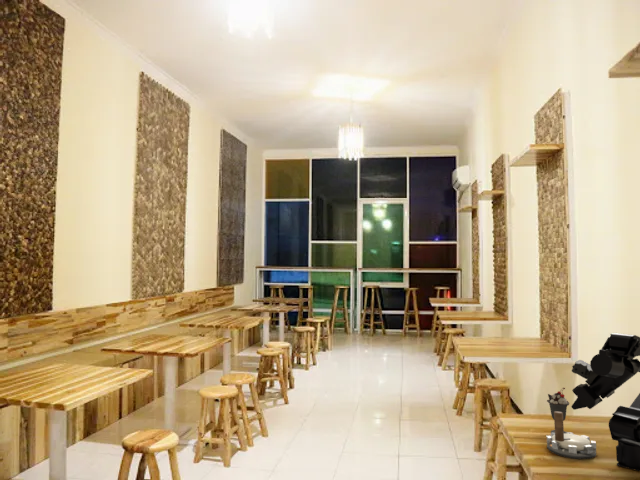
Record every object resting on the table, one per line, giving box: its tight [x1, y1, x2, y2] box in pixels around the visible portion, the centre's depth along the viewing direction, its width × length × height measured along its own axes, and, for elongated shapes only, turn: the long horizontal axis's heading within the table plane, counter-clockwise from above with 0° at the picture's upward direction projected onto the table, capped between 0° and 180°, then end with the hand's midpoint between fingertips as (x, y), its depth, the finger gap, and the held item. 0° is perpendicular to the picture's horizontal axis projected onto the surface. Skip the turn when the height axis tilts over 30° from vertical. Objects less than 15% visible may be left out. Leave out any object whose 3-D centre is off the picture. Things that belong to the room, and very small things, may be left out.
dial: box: [552, 411, 591, 451], centre depth 144 cm, size 10×10×10 cm
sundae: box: [546, 387, 570, 434], centre depth 159 cm, size 7×7×15 cm
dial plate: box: [546, 431, 597, 460], centre depth 144 cm, size 13×13×3 cm
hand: (572, 408), depth 141 cm, fingers closed
